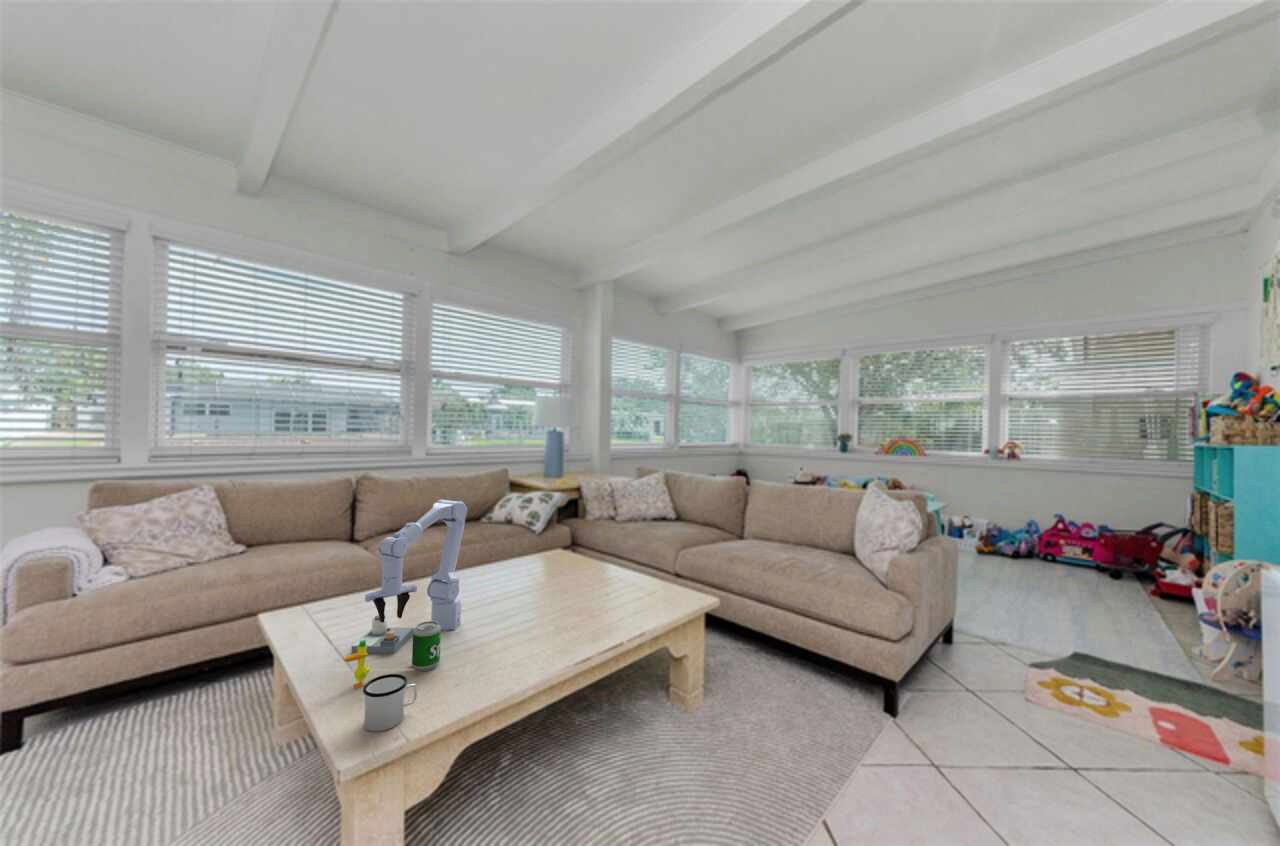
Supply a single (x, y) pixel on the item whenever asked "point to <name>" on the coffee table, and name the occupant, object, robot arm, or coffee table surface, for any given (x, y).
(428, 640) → the soda can
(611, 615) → the coffee table surface
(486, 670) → the coffee table surface
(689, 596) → the coffee table surface
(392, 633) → the plunger
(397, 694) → the mug
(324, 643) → the coffee table surface
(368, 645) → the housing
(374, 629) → the cylinder
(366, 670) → the toy figure
